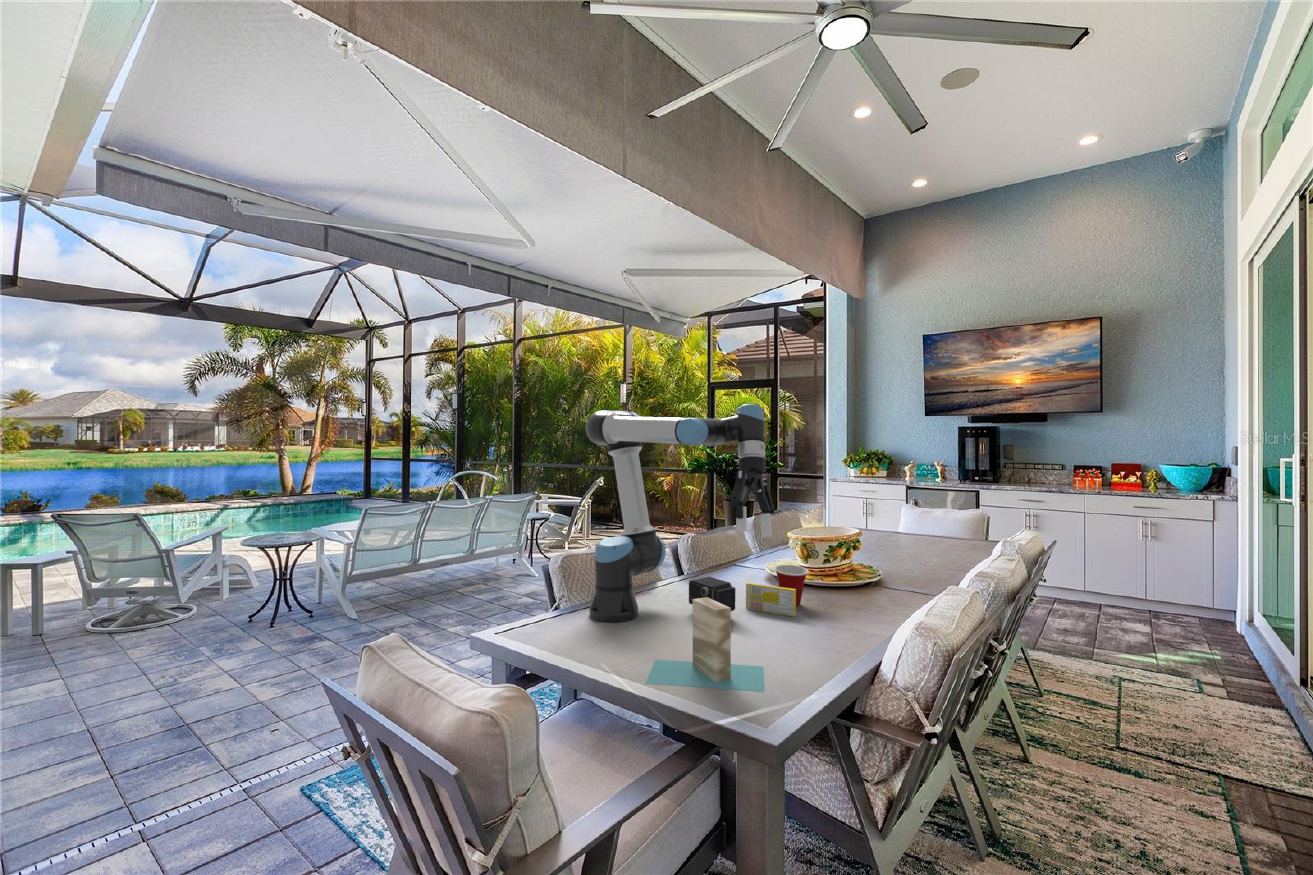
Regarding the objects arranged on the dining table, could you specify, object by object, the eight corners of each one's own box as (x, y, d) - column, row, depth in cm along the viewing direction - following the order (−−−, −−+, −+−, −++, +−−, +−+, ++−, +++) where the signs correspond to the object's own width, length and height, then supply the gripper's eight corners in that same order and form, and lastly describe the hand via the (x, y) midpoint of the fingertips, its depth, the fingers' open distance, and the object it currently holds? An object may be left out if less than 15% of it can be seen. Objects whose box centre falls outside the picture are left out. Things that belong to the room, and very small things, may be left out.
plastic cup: (787, 611, 186) (787, 573, 186) (768, 602, 196) (768, 566, 196) (815, 607, 191) (815, 570, 191) (794, 598, 201) (794, 563, 200)
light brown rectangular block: (715, 681, 131) (715, 610, 131) (692, 666, 140) (692, 599, 140) (730, 678, 133) (730, 607, 133) (706, 663, 142) (706, 597, 142)
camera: (684, 617, 184) (717, 624, 172) (682, 580, 185) (714, 585, 173) (710, 610, 190) (743, 617, 178) (707, 575, 191) (740, 579, 179)
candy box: (796, 615, 182) (796, 588, 182) (794, 617, 180) (794, 590, 180) (748, 607, 191) (748, 581, 191) (745, 609, 189) (745, 583, 189)
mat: (645, 686, 131) (645, 683, 131) (655, 662, 144) (655, 659, 144) (764, 694, 126) (764, 691, 126) (763, 668, 140) (763, 666, 140)
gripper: (741, 446, 154) (743, 527, 148) (784, 465, 173) (787, 538, 167) (716, 450, 159) (717, 530, 153) (761, 468, 177) (764, 539, 171)
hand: (754, 534), depth 160 cm, fingers open, 13 cm apart
